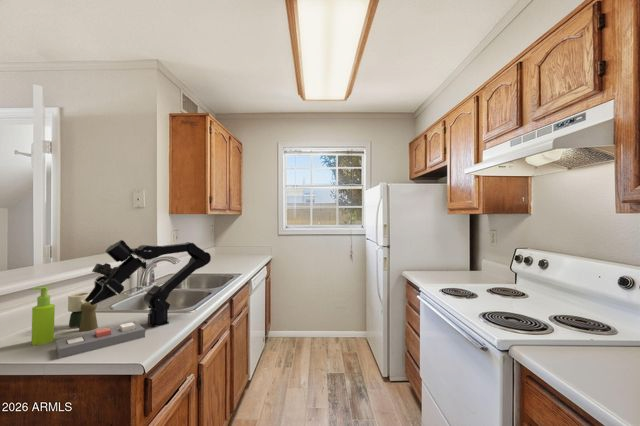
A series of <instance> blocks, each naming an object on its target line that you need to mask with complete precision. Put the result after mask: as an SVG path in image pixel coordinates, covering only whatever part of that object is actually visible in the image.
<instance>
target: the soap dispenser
mask: <svg viewBox="0 0 640 426" xmlns="http://www.w3.org/2000/svg"><path fill="white" fill-rule="evenodd" d="M50 289H51V286H37V287H33V288H29V290H30V291H34V290H40V295H39V296H37V297H36V298H37V299H36V300H37V301H36V304H37V305H35V306H33V307H32V308H31V346H39V345H40V346H41V345H46V344H49V343H51V342H53V341H54V340H55V307H56V305H55V304H53V303H51V295H49V294H48V290H50Z"/></svg>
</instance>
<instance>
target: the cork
mask: <svg viewBox="0 0 640 426" xmlns="http://www.w3.org/2000/svg"><path fill="white" fill-rule="evenodd" d="M90 302H91V301H90ZM90 302H86V303H83V304H82V305H81V311H82V317H81V323H80V327H79V330H78V331H79V332H90V331H93V330H94V331H95V330H97V329H99V328H98V327H99V326H98V319H97V314H96V309H97V307H98V303H96V304H94V305H91V304H90Z"/></svg>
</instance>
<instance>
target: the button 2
mask: <svg viewBox="0 0 640 426" xmlns="http://www.w3.org/2000/svg"><path fill="white" fill-rule="evenodd" d="M134 323H135V322H134ZM134 323H133V322H127V323H122V324H120V325H119V327H120V331H121V332H125V331H129V330H134V329H135V324H134Z"/></svg>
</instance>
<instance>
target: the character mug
mask: <svg viewBox="0 0 640 426" xmlns="http://www.w3.org/2000/svg"><path fill="white" fill-rule="evenodd" d="M89 294H90V292H77V293H72V294H69V295H68V298H67V311H68V312H69V313H71V314H70V316H69V322H68V327H70V328H73V327H79V328H80V323H81V317H82V311H81V305H82V304H83V303H86V301H85V299H86V298H87V296H88V295H89ZM89 302H91V301H89Z"/></svg>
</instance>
